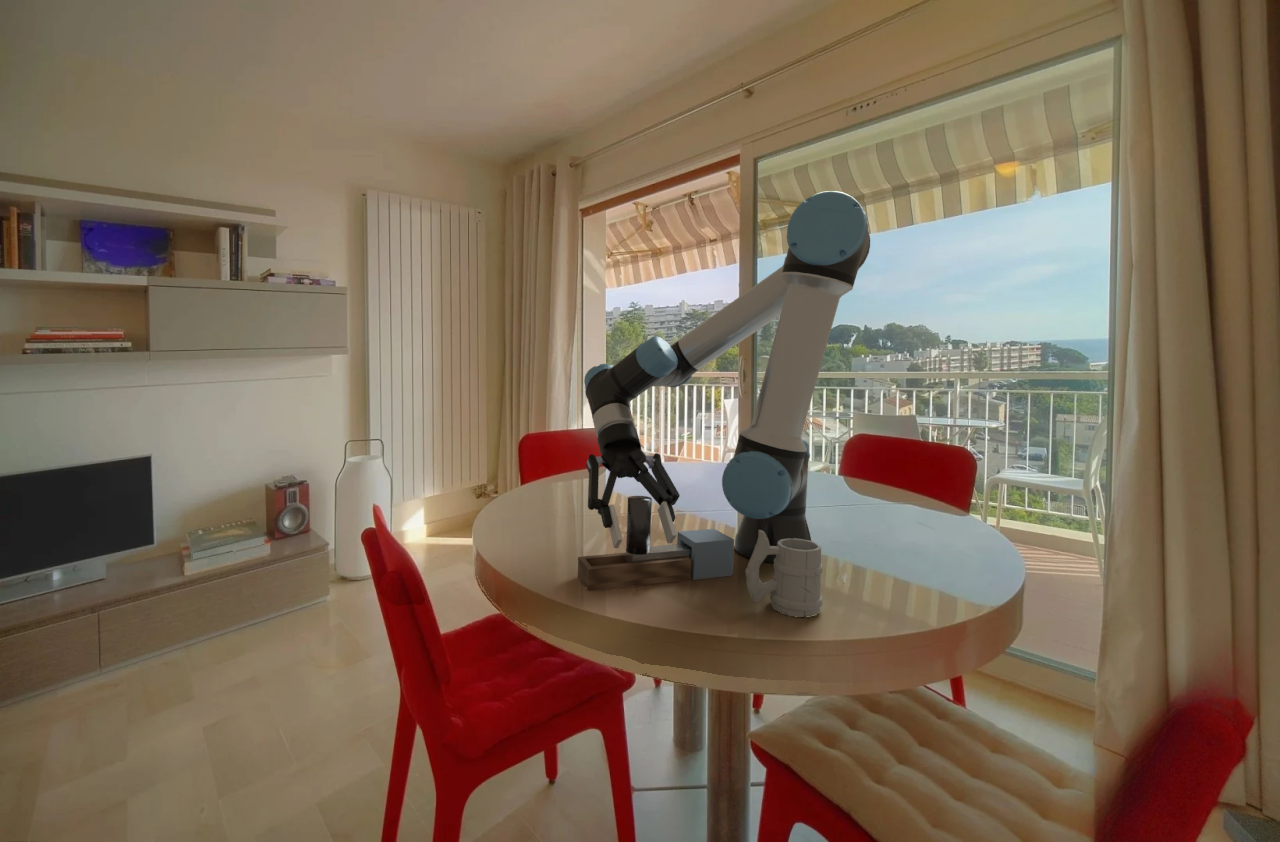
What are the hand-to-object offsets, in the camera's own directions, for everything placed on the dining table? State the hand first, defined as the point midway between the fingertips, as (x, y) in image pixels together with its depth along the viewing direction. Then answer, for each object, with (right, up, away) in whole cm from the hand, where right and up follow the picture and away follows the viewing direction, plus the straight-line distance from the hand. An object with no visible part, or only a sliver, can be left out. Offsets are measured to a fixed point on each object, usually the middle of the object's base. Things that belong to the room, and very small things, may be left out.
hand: (645, 541), depth 91 cm
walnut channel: (-2, -7, +3) cm, 8 cm away
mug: (+21, -9, -7) cm, 23 cm away
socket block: (+10, -7, +8) cm, 15 cm away
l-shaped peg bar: (+4, -6, +6) cm, 9 cm away
